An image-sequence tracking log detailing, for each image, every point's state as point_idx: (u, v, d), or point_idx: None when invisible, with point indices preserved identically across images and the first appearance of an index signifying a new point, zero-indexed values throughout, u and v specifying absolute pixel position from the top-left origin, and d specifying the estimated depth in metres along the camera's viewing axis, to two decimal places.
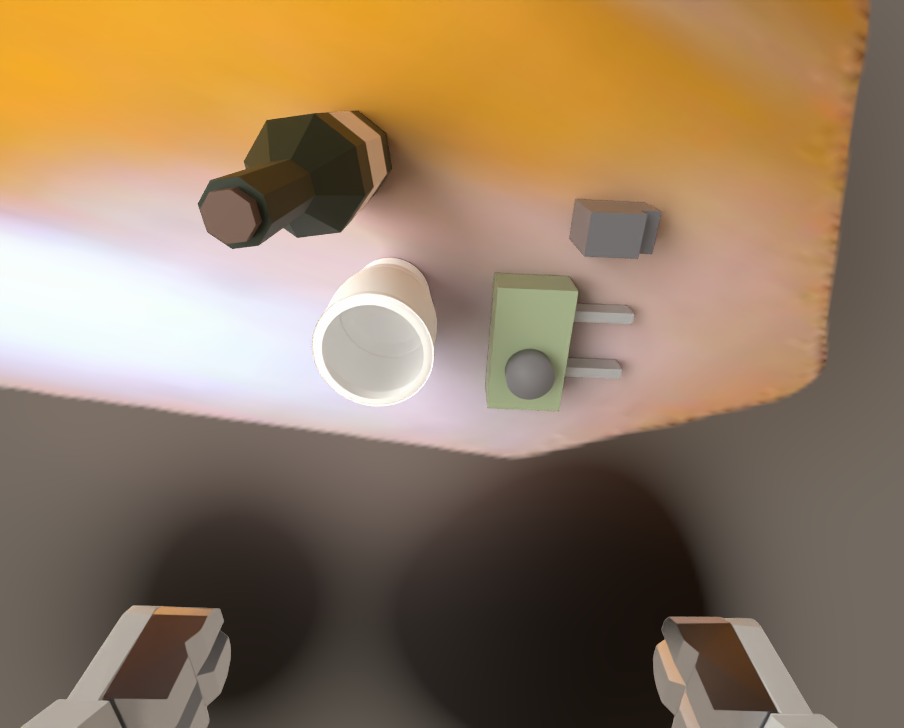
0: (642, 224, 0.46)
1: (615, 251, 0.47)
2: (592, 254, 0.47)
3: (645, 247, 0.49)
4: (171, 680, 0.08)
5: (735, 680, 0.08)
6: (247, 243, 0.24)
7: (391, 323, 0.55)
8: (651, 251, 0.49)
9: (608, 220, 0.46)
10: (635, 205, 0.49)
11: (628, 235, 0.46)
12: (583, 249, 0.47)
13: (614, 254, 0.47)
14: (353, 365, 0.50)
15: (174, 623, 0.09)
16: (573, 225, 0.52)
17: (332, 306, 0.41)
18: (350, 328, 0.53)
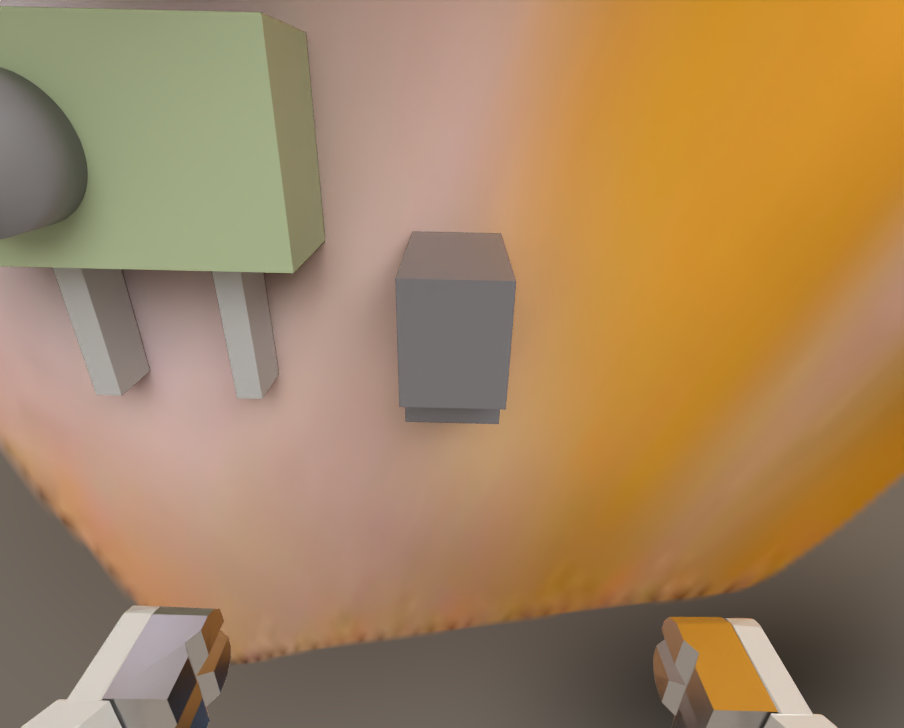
0: (482, 403, 0.19)
1: (414, 354, 0.18)
2: (403, 298, 0.17)
3: (419, 406, 0.22)
4: (171, 680, 0.08)
5: (734, 680, 0.08)
6: None
7: None
8: (411, 419, 0.22)
9: (492, 326, 0.18)
10: None
11: (455, 377, 0.19)
12: (411, 273, 0.18)
13: (406, 353, 0.18)
14: None
15: (174, 623, 0.09)
16: (446, 237, 0.22)
17: None
18: None
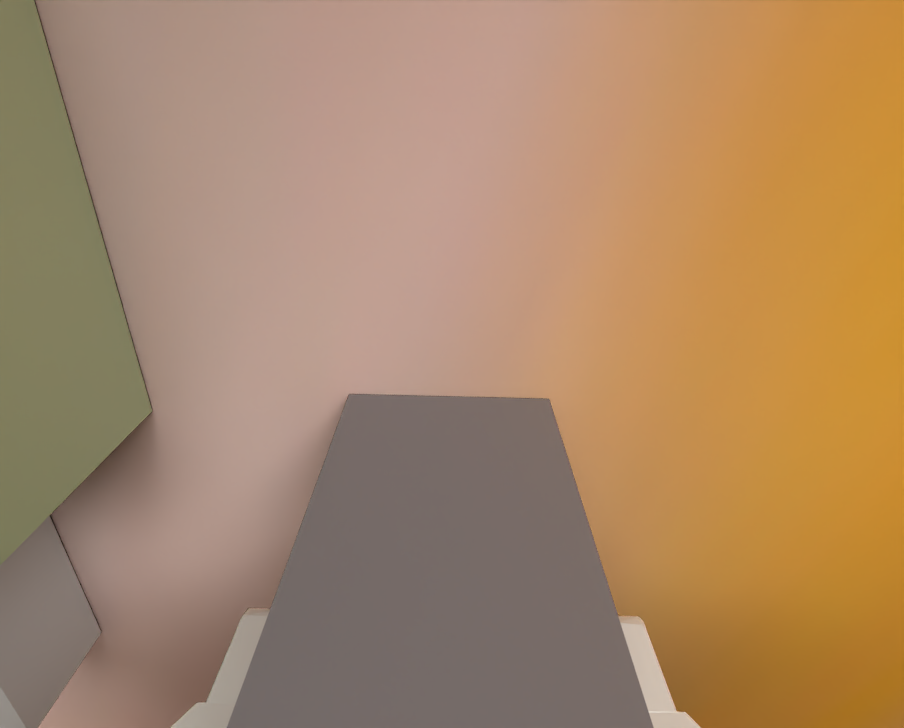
0: None
1: None
2: None
3: None
4: None
5: None
6: None
7: None
8: None
9: None
10: None
11: None
12: None
13: None
14: None
15: None
16: (424, 424, 0.09)
17: None
18: None
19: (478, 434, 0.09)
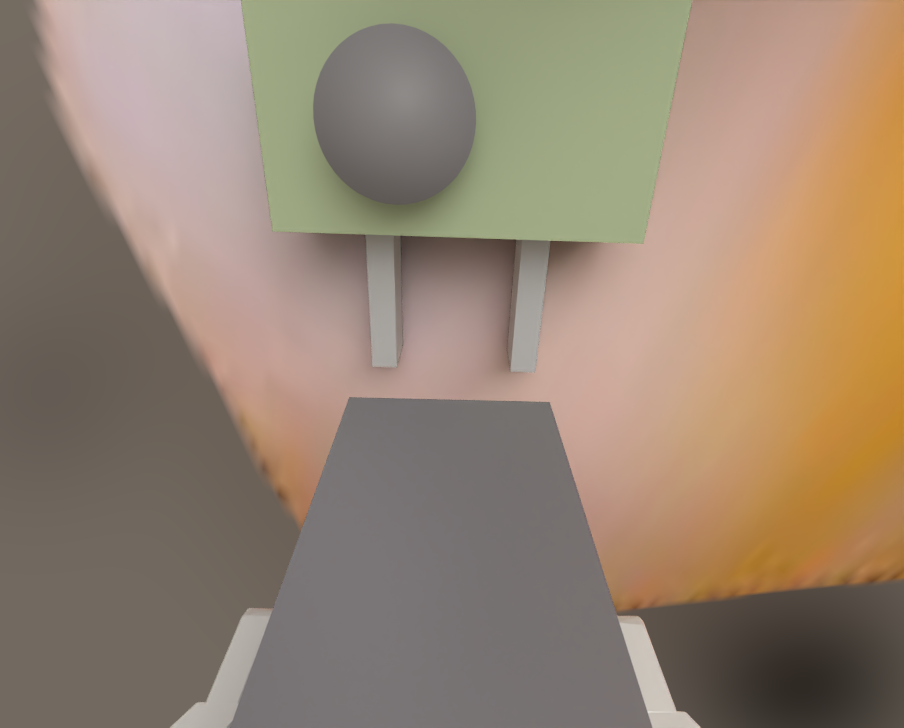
0: None
1: None
2: None
3: None
4: None
5: None
6: None
7: None
8: None
9: None
10: None
11: None
12: None
13: None
14: None
15: None
16: (425, 428, 0.09)
17: None
18: None
19: (478, 438, 0.09)
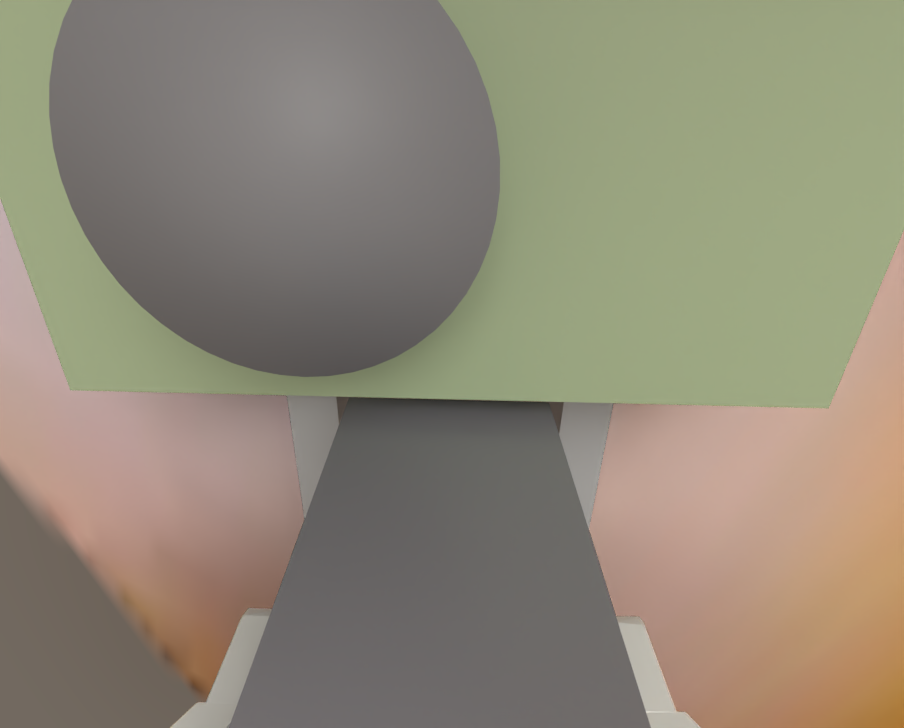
0: None
1: None
2: None
3: None
4: None
5: None
6: None
7: None
8: None
9: None
10: None
11: None
12: None
13: None
14: None
15: None
16: (424, 428, 0.09)
17: None
18: None
19: (478, 438, 0.09)
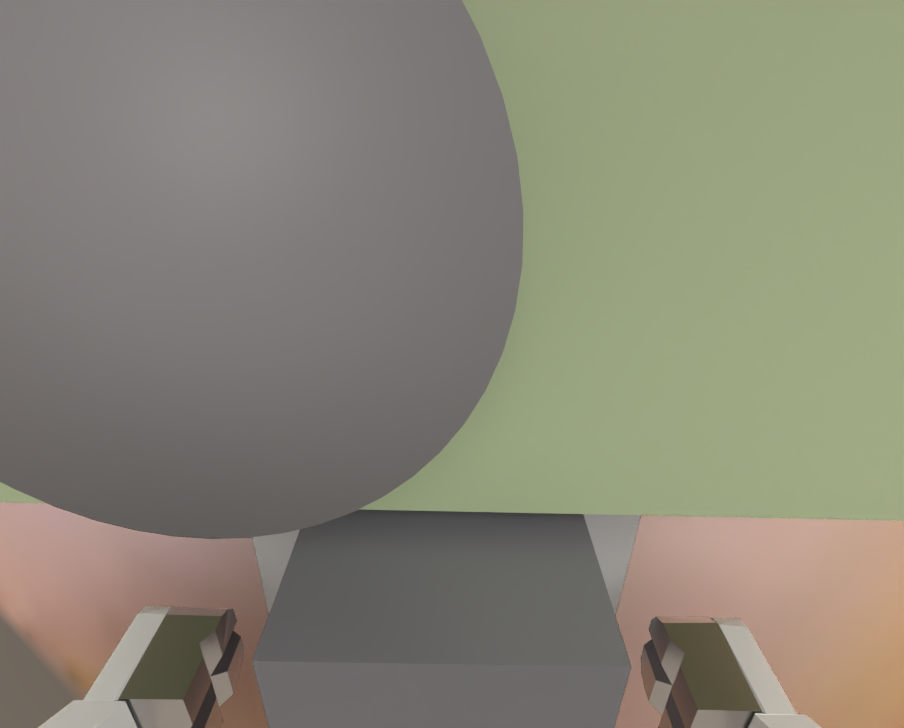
0: None
1: None
2: (283, 701, 0.06)
3: None
4: (187, 680, 0.08)
5: (720, 680, 0.08)
6: None
7: None
8: None
9: None
10: None
11: None
12: (312, 606, 0.06)
13: None
14: None
15: (188, 623, 0.09)
16: None
17: None
18: None
19: None
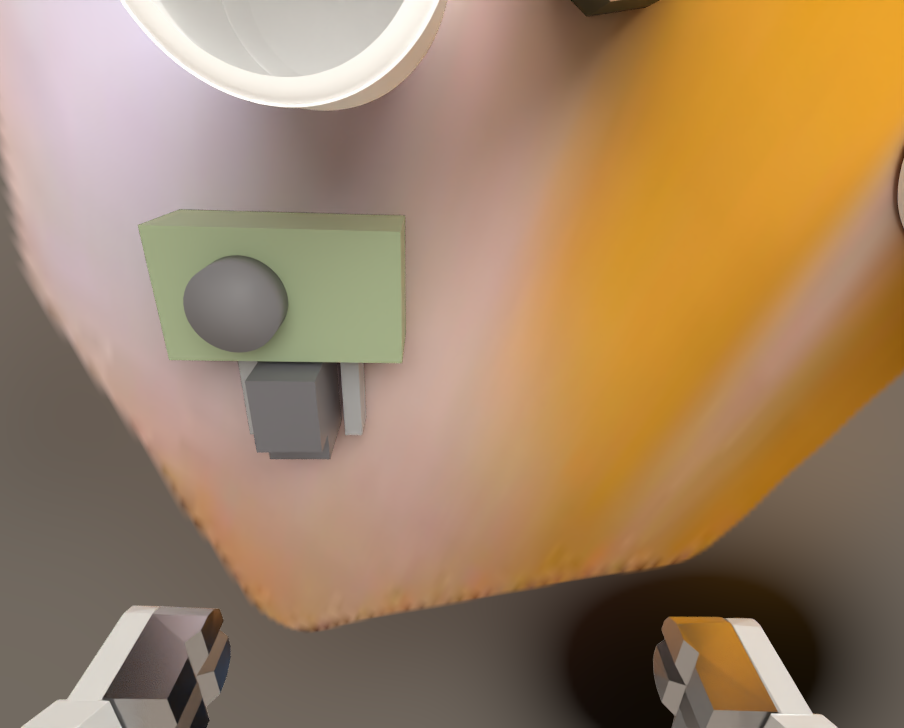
0: (307, 449, 0.32)
1: (262, 421, 0.31)
2: (250, 392, 0.30)
3: None
4: (171, 680, 0.08)
5: (735, 680, 0.08)
6: None
7: None
8: (273, 457, 0.34)
9: (305, 406, 0.30)
10: (335, 417, 0.36)
11: (288, 434, 0.31)
12: (256, 376, 0.30)
13: (256, 421, 0.31)
14: None
15: (174, 623, 0.09)
16: None
17: None
18: None
19: None
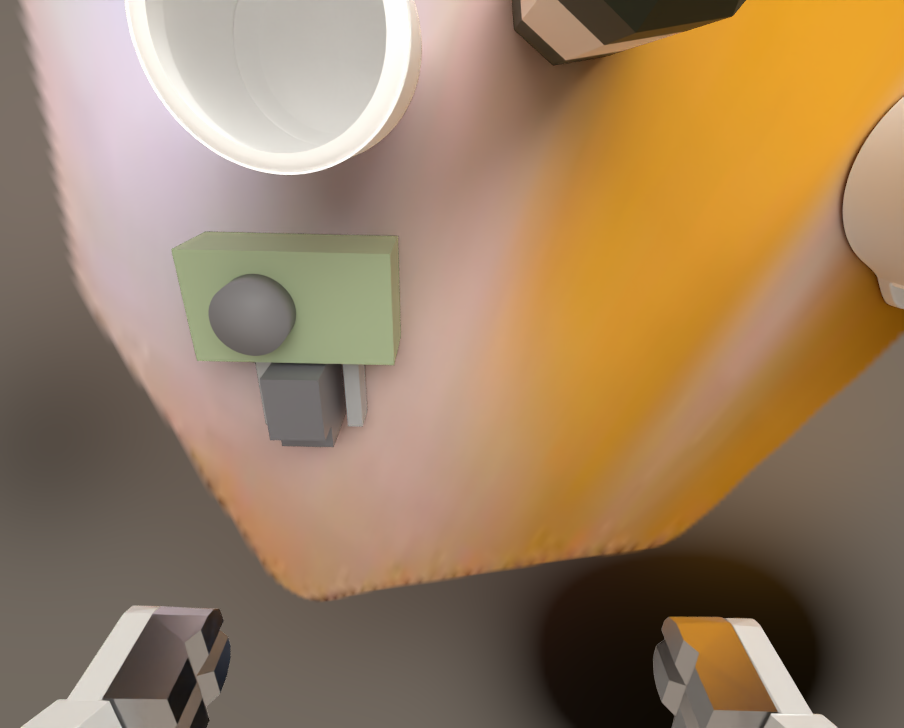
0: (312, 437, 0.37)
1: (274, 414, 0.36)
2: (264, 388, 0.35)
3: None
4: (171, 680, 0.08)
5: (734, 680, 0.08)
6: None
7: (297, 57, 0.30)
8: (285, 444, 0.40)
9: (310, 401, 0.35)
10: (338, 411, 0.41)
11: (296, 425, 0.36)
12: (269, 375, 0.35)
13: (269, 413, 0.36)
14: None
15: (174, 623, 0.09)
16: None
17: None
18: None
19: None
